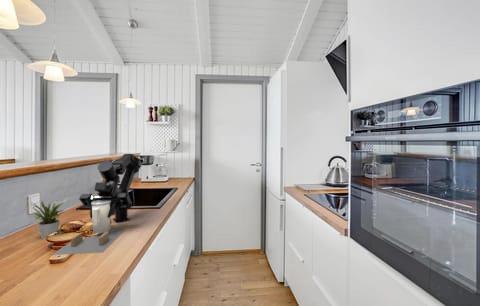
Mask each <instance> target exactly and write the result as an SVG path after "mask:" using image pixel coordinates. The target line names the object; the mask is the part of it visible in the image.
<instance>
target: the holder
mask: <svg viewBox="0 0 480 306" xmlns="http://www.w3.org/2000/svg"><path fill="white" fill-rule="evenodd" d="M126 230H127V228H111V230H110V231H108V232H105V233H99V234H97V235H94V236H91V237H86V238H84V239H83V236H82V234H83V232H79V233H77V234H76V235H74V236H73V237H71V238H70V242H71V243H70V242H68V243H67V244H65V245H64V246H62V247H61V248H59V249H58V250H57V251H55V252H54V253H52V254H51V256H56V255H57V256H59V255H60V256H62V255H79V254H80V255H81V254H101V253H104V252H105V251H106V250H107V249H108V248H109V247H110V246H111V245H113V244H114V242H115V241H116V240H117V239H118V238H119V237H120V236H121V235H122V234H123V233H124V232H125V231H126Z"/></svg>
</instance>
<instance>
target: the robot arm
mask: <svg viewBox="0 0 480 306" xmlns="http://www.w3.org/2000/svg"><path fill="white" fill-rule="evenodd" d="M141 168H142V161H141V159H140V158H138V157H137V156H135V155H134V154H133V153H124V154H123V155H122V156H121V157H120V158H119V159H117V160H116V161H112V162H111V161H110V160H106V159H105V160H104V161H102V162H101V163H99V164H97V170H98V172H99V174H100V176H101V179H103V178H104V179H105V181H104V182H102V181H100V182H95V186H94V191H95V192H96V194H97V196H94V195H93V193H82V194H81V195H80V196H79V198H78V200H79V201H80V202H81V203H82V206H84V207H85V206H86V207H89V218H91V219H92V205H91V202H93V201H97V200H111V203H110V211H109V214H108V218H110V219H111V217H112V215H113V213H114V212H115V214H114V218H113V219H112V220H113V221H114V222H115V223H120V222H121V223H122V222H127V221H130V220H131V218H130V217H129V215H128V214H129V213H128V212H129V211H128V210H129V209H131V208H132V207H133V206H132V205H133V201H132V199H131V198H130V195H129V191H130V188H131V185H132V182H133V179H134V176H135V174H137V173H138V172H139V171H140V169H141ZM121 175H123V176H122V179H121V177H120V176H121ZM117 186H118V189H117Z"/></svg>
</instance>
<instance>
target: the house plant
mask: <svg viewBox="0 0 480 306" xmlns="http://www.w3.org/2000/svg"><path fill="white" fill-rule="evenodd" d="M50 199H52V197H51V198H50ZM67 200H68V199H65V200H63V201H62V202H59V203H58V204H56V203H57V202H56V200H55V199H53V200H52V201H51V200H49V202H48V205H45V203H44V202H43V201H42V200H41V199H40V200H39V204H40V205H41V207H42V208H43V209H42V208H41V207H39V206H38V205H37V203H34V202H32V205H29V206H33V207H32V209H33V210H35V211H36V213H33V217H35V218H34V221H36V220H40V222H38V223H37V226H38V230H39V231H38V232H39V234H40V238H41V240H45V239H46V238H48V237H49V236H48V235H50V234H52V233H54V232H57V231H58V232H59V227H60V222H61V221H60V216H61V214H63V213H65V209H64V210H63V209H62V210H58V209H59V207H61V205H63V204H64V202H66V201H67ZM52 202H53V205H52V208H51V209H50V207H51V204H52ZM27 203H29V204H31V202H29V201H28V202H27ZM35 207H36V208H35ZM37 209H38V210H37ZM39 211H40V212H41V213H40V212H39ZM37 212H38V213H37ZM58 213H59V214H58ZM42 214H43V215H42ZM29 217H30V218H31V217H32V216H31V215H30V216H29ZM47 236H48V237H47Z"/></svg>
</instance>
